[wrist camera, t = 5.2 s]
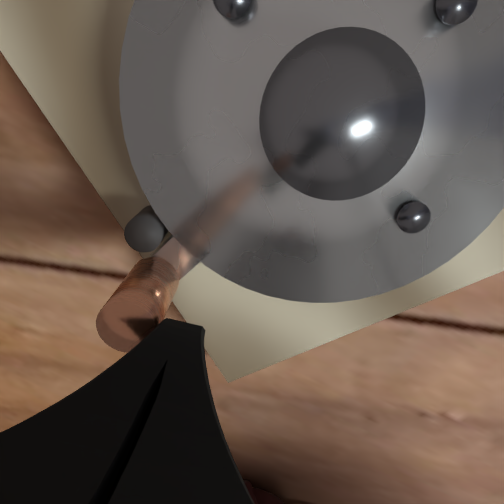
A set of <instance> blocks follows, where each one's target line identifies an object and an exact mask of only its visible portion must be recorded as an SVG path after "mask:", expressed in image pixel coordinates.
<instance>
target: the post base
mask: <svg viewBox="0 0 504 504" xmlns="http://www.w3.org/2000/svg"><path fill="white" fill-rule="evenodd" d="M133 3H134V0H0V51H1V52H2V54H3V55H4V57H5V58H6V60H7V61H8V63H9V64H10V66H11V67H12V68H13V70H14V71H15V73H16V74H17V76H18V77H19V79H20V80H21V82H22V83H23V85H24V86H25V87H26V89H27V90H28V92H29V93H30V95H31V96H32V98H33V99H34V101H35V102H36V103H37V105H38V106H39V108H40V109H41V111H42V112H43V114H44V115H45V117H46V118H47V119H48V121H49V122H50V124H51V125H52V127H53V128H54V130H55V131H56V133H57V134H58V135H59V137H60V138H61V140H62V141H63V143H64V144H65V146H66V147H67V149H68V150H69V151H70V153H71V154H72V156H73V157H74V159H75V160H76V162H77V163H78V165H79V166H80V168H81V169H82V170H83V172H84V173H85V175H86V176H87V178H88V179H89V181H90V182H91V184H92V185H93V186H94V188H95V189H96V191H97V192H98V194H99V195H100V197H101V198H102V200H103V201H104V202H105V204H106V205H107V207H108V208H109V210H110V211H111V213H112V214H113V216H114V217H115V218H116V220H117V221H118V223H119V224H120V226H121V227H122V229H123V230H124V236H125V239H126V242H127V243H128V244H129V246H130V247H131V248H133V249H134V250H136V251H138V252H139V253H140V255H141V256H142V258H143V259H144V258H149V256H150V255H151V254H152V253H153V252H154V251H155V250H156V249H157V248H158V247H159V246H160V245H161V244H162V243H163V242H164V241H165V240H166V239H167V238H169V237H170V236H171V235H172V234H171V233H170V232H169V231H168V229H167V228H166V227H165V225H164V224H163V223H162V221H161V220H160V219H159V217H158V216H157V214H156V213H155V212H154V210H153V208H152V206H151V205H150V203H149V201H148V199H147V197H146V196H145V194H144V192H143V190H142V188H141V186H140V183H139V181H138V179H137V176H136V174H135V171H134V169H133V166H132V164H131V160H130V157H129V153H128V149H127V146H126V142H125V139H124V133H123V126H122V120H121V113H120V95H119V74H120V63H121V52H122V45H123V41H124V36H125V31H126V27H127V22H128V17H129V14H130V11H131V9H132V6H133ZM502 271H504V208H503V209H502V210H501V212H500V213H499V214H498V215H497V216H496V218H495V219H494V220H493V221H492V222H491V224H490V225H489V226H488V227H487V228H486V229H485V230H484V231H483V232H482V233H481V234H480V235H479V236H478V237H477V238H476V239H475V240H474V241H473V242H472V243H471V244H470V245H468V246H467V247H466V248H465V249H463V250H462V251H461V252H460V253H458V254H457V255H456V256H455V257H453V258H452V259H451V260H449V261H448V262H446V263H445V264H443V265H442V266H440V267H439V268H437V269H435V270H434V271H432V272H431V273H429V274H427V275H425V276H423V277H421V278H419V279H417V280H415V281H413V282H411V283H409V284H407V285H405V286H402V287H400V288H397V289H394V290H391V291H389V292H386V293H383V294H380V295H376V296H371V297H367V298H363V299H359V300H352V301H344V302H336V303H308V302H298V301H289V300H284V299H280V298H275V297H271V296H266V295H263V294H261V293H258V292H255V291H252V290H249V289H246V288H244V287H242V286H240V285H238V284H236V283H234V282H232V281H229V280H227V279H225V278H224V277H222V276H220V275H219V274H217V273H216V272H214V271H213V270H211V269H210V268H208V267H207V266H205V265H204V264H203V263H201V262H199V263H198V264H197V265H196V266H195V267H194V268H193V269H192V270H190V271H189V272H188V273H187V274H186V275H185V276H184V277H183V278H182V279H180V280H179V286H178V288H177V291H176V293H175V295H174V297H173V299H172V301H173V303H174V304H175V306H176V307H177V309H178V310H179V312H180V313H181V315H182V316H183V317H184V319H185V320H186V322H187V323H191V324H195V325H200V326H203V328H204V329H205V330H206V331H205V337H204V348H205V350H206V351H207V352H208V354H209V355H210V357H211V358H212V360H213V361H214V363H215V364H216V366H217V367H218V368H219V370H220V371H221V373H222V374H223V376H224V377H225V379H226V380H227V382H228V383H229V382H231V381H234V380H236V379H239V378H241V377H244V376H246V375H249V374H251V373H254V372H256V371H258V370H261V369H263V368H266V367H268V366H271V365H273V364H276V363H278V362H281V361H283V360H286V359H288V358H290V357H293V356H295V355H298V354H300V353H303V352H305V351H308V350H310V349H313V348H315V347H317V346H320V345H322V344H325V343H327V342H330V341H332V340H335V339H337V338H340V337H342V336H345V335H347V334H349V333H352V332H354V331H357V330H359V329H362V328H364V327H367V326H369V325H372V324H374V323H376V322H379V321H381V320H384V319H386V318H389V317H391V316H394V315H396V314H399V313H401V312H403V311H406V310H408V309H411V308H413V307H416V306H418V305H421V304H423V303H426V302H428V301H431V300H433V299H435V298H438V297H440V296H443V295H445V294H448V293H450V292H453V291H455V290H458V289H460V288H462V287H465V286H467V285H470V284H472V283H475V282H477V281H480V280H482V279H485V278H487V277H490V276H492V275H494V274H497V273H499V272H502Z"/></svg>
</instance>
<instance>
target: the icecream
mask: <svg viewBox="0 0 504 504" xmlns="http://www.w3.org/2000/svg"><path fill="white" fill-rule="evenodd" d="M244 483H245V485H246V487H247V489H248V492H249V494H250V496H251V498H252V500H253V501H254V503H255V504H284V503H283V502H282V501H281V500H280V499H279V498H278V497H277V496H276V495H274V494H271V493H269V492H266V491H264V490H261V489H259V488H256V487H254V488H252V485H251V483H250V481H248V480H244Z"/></svg>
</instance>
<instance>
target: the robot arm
mask: <svg viewBox="0 0 504 504" xmlns="http://www.w3.org/2000/svg"><path fill="white" fill-rule="evenodd" d="M205 331H206V330H205V329H204V328H203V326H200V325H195V324H191V323H186V322H182V321H177V320H173V319H168V318H166V319H164V320H162V321H161V322H160V323H159V324H158V326H157V327H156V328H155V329H154V330H153V331H151V332H150V333H149V334H148V335H147V336H146V337H145V338H144V339H143V340H142V341H141V342H140V343H139V344H137V345H136V346H135V347H134V348H133V349H131V350H130V351H129V352H128V353H127V354H126V355H124V356H123V357H122V358H121V359H119V360H118V361H117V362H116V363H114V364H113V365H112V366H110V367H109V368H108V369H106V370H105V371H104V372H102V373H101V374H100V375H98V376H97V377H96V378H94V379H93V380H91V381H90V382H88V383H87V384H85V385H84V386H82V387H81V388H79V389H78V390H76V391H75V392H73V393H72V394H70V395H68V396H67V397H65V398H64V399H62V400H60V401H59V402H57V403H55V404H54V405H52V406H50V407H48V408H46V409H45V410H43V411H41V412H39V413H37V414H36V415H34V416H32V417H30V418H29V419H27V420H25V421H23V422H21V423H19V424H17V425H15V426H13V427H11V428H9V429H7V430H5V431H3V432H0V504H255V503H254V501H253V500H252V498H251V496H250V494H249V492H248V489H247V487H246V485H245V483H244V481H243V479H242V477H241V475H240V472H239V470H238V468H237V466H236V464H235V462H234V460H233V457H232V455H231V452H230V450H229V447H228V445H227V442H226V440H225V437H224V434H223V431H222V428H221V425H220V422H219V419H218V416H217V413H216V409H215V405H214V402H213V398H212V394H211V389H210V385H209V380H208V374H207V368H206V361H205V351H204V337H205Z"/></svg>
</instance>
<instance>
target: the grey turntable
mask: <svg viewBox="0 0 504 504" xmlns="http://www.w3.org/2000/svg"><path fill="white" fill-rule="evenodd" d="M119 95H120V113H121V120H122V126H123V133H124V139H125V142H126V146H127V149H128V153H129V157H130V160H131V164H132V166H133V169H134V171H135V174H136V176H137V179H138V181H139V183H140V186H141V188H142V190H143V192H144V194H145V196H146V197H147V199H148V201H149V203H150V205H151V206H152V208H153V210H154V212H155V213H156V214H157V216H158V217H159V219H160V220H161V221H162V223H163V224H164V225H165V227H166V228H167V229H168V231H169V232H170V233H171V234H172V235H171V236H170V237H169V238H167V239H166V240H165V241H164V242H163V243H162V244H161V245H160V246H159V247H158V248H157V249H156V250H155V251H154V252H153V253H152V254H151V255H150V256H149V258H144V259H142V260H140V261H139V262H138V263H137V264H136V265H135V266H134V267H133V269H132V270H131V271H130V273H129V274H128V275H127V276H126V278H125V279H124V280H123V282H122V283H121V284H120V286H119V287H118V288H117V289H116V291H115V292H114V293H113V295H112V296H111V297H110V299H109V300H108V301H107V303H106V304H105V305H104V306H103V308H102V309H101V310H100V312H99V313H98V316H97V319H96V328H97V331H98V334H99V335H100V337H101V338H102V340H103V341H104V342H105V343H106V344H107V345H109V346H110V347H112V348H114V349H116V350H118V351H122V352H129V351H130V350H131V349H133V348H134V347H135V346H136V345H137V344H139V343H140V342H141V341H142V340H143V339H144V338H145V337H146V336H147V335H148V334H149V333H150V332H151V331H153V330H154V329H155V328H156V327H157V326H158V324H159V323H160V322H161V321H162V320H163V319H164V317H165V315H166V313H167V310H168V308H169V306H170V304H171V302H172V299H173V297H174V295H175V293H176V291H177V288H178V286H179V280H180V279H182V278H183V277H184V276H185V275H186V274H187V273H188V272H189V271H190V270H192V269H193V268H194V267H195V266H196V265H197V264H198V263H199V262H201V263H203V264H204V265H205V266H207V267H208V268H210V269H211V270H213V271H214V272H216V273H217V274H219V275H220V276H222V277H224V278H225V279H227V280H229V281H232V282H234V283H236V284H238V285H240V286H242V287H244V288H246V289H249V290H252V291H255V292H258V293H261V294H263V295H266V296H271V297H275V298H280V299H284V300H289V301H298V302H308V303H336V302H344V301H352V300H359V299H363V298H367V297H371V296H376V295H380V294H383V293H386V292H389V291H391V290H394V289H397V288H400V287H402V286H405V285H407V284H409V283H411V282H413V281H415V280H417V279H419V278H421V277H423V276H425V275H427V274H429V273H431V272H432V271H434V270H435V269H437V268H439V267H440V266H442V265H443V264H445V263H446V262H448V261H449V260H451V259H452V258H453V257H455V256H456V255H457V254H458V253H460V252H461V251H462V250H463V249H465V248H466V247H467V246H468V245H470V244H471V243H472V242H473V241H474V240H475V239H476V238H477V237H478V236H479V235H480V234H481V233H482V232H483V231H484V230H485V229H486V228H487V227H488V226H489V225H490V224H491V222H492V221H493V220H494V219H495V218H496V216H497V215H498V214H499V213H500V212H501V210H502V209H503V208H504V0H134V3H133V6H132V9H131V11H130V14H129V17H128V22H127V27H126V31H125V36H124V41H123V45H122V52H121V63H120V74H119Z"/></svg>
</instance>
